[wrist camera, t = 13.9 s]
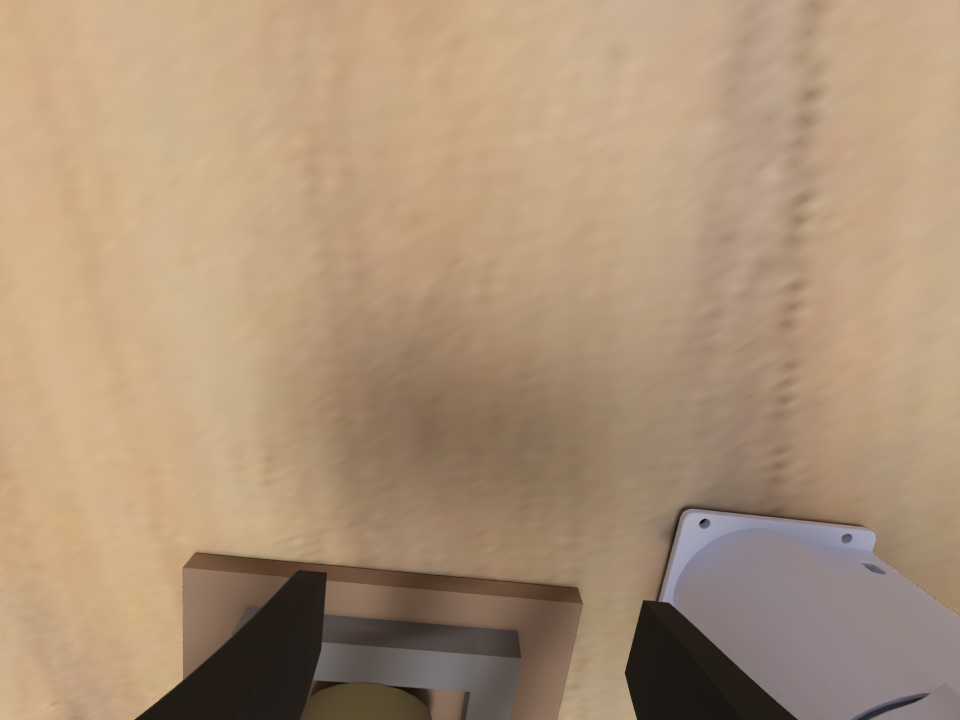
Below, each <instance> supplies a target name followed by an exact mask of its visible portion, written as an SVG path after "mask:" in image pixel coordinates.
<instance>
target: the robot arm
mask: <svg viewBox="0 0 960 720" xmlns="http://www.w3.org/2000/svg"><path fill="white" fill-rule="evenodd" d="M702 519H706V520H705V522H704V523H702V524H699V523H700V521H701V520H702ZM843 535H845V536H844V537H843ZM875 542H876V535H875V534H874V533H873V532H872V531H871V530H869V529H868V528H865V527H859V526H849V525H840V524H831V523H821V522H812V521H803V520H793V519H784V518H775V517H765V516H756V515H746V514H737V513H728V512H718V511H709V510H700V509H688V510H686V511H684V512H683V513H682V515H681V517H680V521H679V524H678V528H677V532H676V536H675V540H674V544H673V547H672V551H671V555H670V559H669V563H668V566H667V570H666V574H665V578H664V582H663V585H662V589H661V593H660V597H659V601H647V600H643V604H642V607H641V611H640V615H639V619H638V623H637V627H636V631H635V635H634V639H633V643H632V647H631V651H630V655H629V658H628V662H627V666H626V670H625V675H626V679H627V683H628V687H629V691H630V695H631V699H632V703H633V706H634V710H635V714H636V717H637V720H960V617H959V616H958V615H956V614H955V613H954V612H952V611H951V610H950V609H948V608H947V607H946V606H944V605H943V604H941V603H940V602H939V601H937V600H936V599H935V598H933V597H932V596H930V595H929V594H928V593H926V592H925V591H924V590H922V589H921V588H920V587H918V586H917V585H915V584H914V583H913V582H911V581H910V580H909V579H907V578H906V577H905V576H903V575H902V574H900V573H899V572H898V571H896V570H895V569H894V568H892V567H891V566H890V565H888V564H887V563H885V562H884V561H883V560H881V559H880V558H879V557H877V556H876V555H874V554H873V553H872V550H873V547H874V545H875ZM326 580H327V572H316V571H305V570H298V571H297V572H295V573H294V574H293V575H292V576H291V577H290V578H289V579H288V580H287V581H286V582H285V584H284V585H283V586H282V587H281V588H280V589H279V590H278V591H277V592H276V593H275V594H274V595H273V596H272V597H271V598H270V599H269V600H268V601H267V602H266V603H265V604H264V605H263V606H262V607H261V608H260V609H259V610H258V611H257V612H256V613H255V615H254V616H253V617H251V618H250V619H249V620H248V621H247V622H246V623H245V624H244V625H243V626H242V627H241V628H240V629H239V630H238V631H237V632H236V633H235V634H234V635H233V636H232V637H231V638H230V639H229V640H228V641H226V642H225V643H224V644H223V645H222V646H221V647H220V648H219V649H218V650H217V651H216V652H215V653H213V654H212V655H211V656H210V657H209V658H208V659H207V660H206V661H204V662H203V663H202V664H201V665H200V666H199V667H198V668H196V669H195V670H194V671H193V672H192V673H191V674H190V675H188V676H187V677H186V678H185V679H184V680H183V681H182V682H181V683H179V684H178V685H177V686H176V687H175V688H173V689H172V690H171V691H170V692H169V693H167V694H166V695H165V696H164V697H162V698H161V699H160V700H159V701H158V702H156V703H155V704H154V705H153V706H151V707H150V708H149V709H148V710H146V711H145V712H144V713H142V714H141V715H140V716H139V717H137V718H136V719H135V720H300V717H301V715H302V712H303V710H304V707H305V704H306V702H307V698H308V695H309V691H310V688H311V685H312V681H313V678H314V674H315V671H316V667H317V664H318V660H319V656H320V653H321V648H322V634H323V621H324V607H325V593H326Z"/></svg>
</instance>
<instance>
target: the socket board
mask: <svg viewBox="0 0 960 720" xmlns="http://www.w3.org/2000/svg"><path fill="white" fill-rule="evenodd" d="M298 570H305V571H316V572H327V580H326V593H325V607H324V621H323V634H322V648H321V653H320V656H319V660H318V664H317V667H316V671H315V674H314V678H313V681H312V685H311V688H310V691H309V695H308V698H310V697H311V696H312V695H314V694H315V693H317V692H318V691H320V690H323V689H326V688H329V687H332V686H335V685H340V684H349V683H371V684H381V685H385V686H389V687H393V688H397V689H401V690H403V691H405V692H407V693H409V694H411V695H413V696H415V697H417V698H418V699H419V700H420V701H421V702H422V703H423V704H424V705H426V706H427V708H428V710H429V712H430V714H431V717H432V720H557V719H558V714H559V710H560V705H561V701H562V696H563V692H564V687H565V683H566V678H567V673H568V669H569V664H570V660H571V655H572V651H573V646H574V642H575V637H576V632H577V628H578V623H579V619H580V614H581V610H582V605H583V603H582V600H581V597H580V594H579V591H578V588H567V587H556V586H545V585H534V584H523V583H513V582H502V581H491V580H480V579H469V578H459V577H448V576H437V575H426V574H415V573H405V572H394V571H383V570H372V569H361V568H350V567H340V566H329V565H318V564H307V563H296V562H286V561H275V560H264V559H253V558H242V557H232V556H221V555H210V554H199V553H195V554H194V555H193V556H192V558H191V559H190V560H189V561H188V562H187V563H186V564H185V566H184V567H183V680H184V679H185V678H186V677H187V676H188V675H190V674H191V673H192V672H193V671H194V670H195V669H196V668H198V667H199V666H200V665H201V664H202V663H203V662H204V661H206V660H207V659H208V658H209V657H210V656H211V655H212V654H213V653H215V652H216V651H217V650H218V649H219V648H220V647H221V646H222V645H223V644H224V643H225V642H226V641H228V640H229V639H230V638H231V637H232V636H233V635H234V634H235V633H236V632H237V631H238V630H239V629H240V628H241V627H242V626H243V625H244V624H245V623H246V622H247V621H248V620H249V619H250V618H251V617H253V616H254V615H255V613H256V612H257V611H258V610H259V609H260V608H261V607H262V606H263V605H264V604H265V603H266V602H267V601H268V600H269V599H270V598H271V597H272V596H273V595H274V594H275V593H276V592H277V591H278V590H279V589H280V588H281V587H282V586H283V585H284V584H285V582H286V581H287V580H288V579H289V578H290V577H291V576H292V575H293V574H294V573H295V572H297V571H298ZM308 698H307V699H308Z"/></svg>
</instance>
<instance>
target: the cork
mask: <svg viewBox="0 0 960 720" xmlns="http://www.w3.org/2000/svg"><path fill="white" fill-rule="evenodd" d="M300 720H432V717H431V714H430V712H429V710H428V708H427V706H426V705H424V704H423V703H422V702H421V701H420V700H419V699H418V698H417V697H415V696H413V695H411V694H409V693H407V692H405V691H403V690H401V689H397V688H393V687H389V686H385V685H381V684H371V683H349V684H340V685H335V686H332V687H329V688H326V689H323V690H320V691H318V692H317V693H315V694H314V695H312V696H311V697H310V698H308V699H307V702H306V704H305V707H304V710H303V712H302V715H301V717H300Z"/></svg>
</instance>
